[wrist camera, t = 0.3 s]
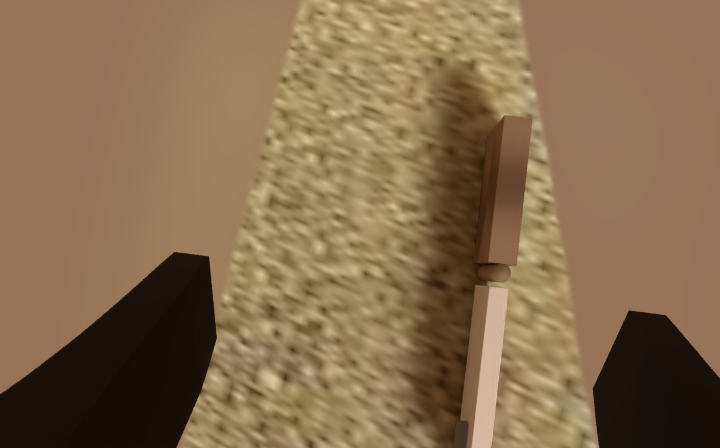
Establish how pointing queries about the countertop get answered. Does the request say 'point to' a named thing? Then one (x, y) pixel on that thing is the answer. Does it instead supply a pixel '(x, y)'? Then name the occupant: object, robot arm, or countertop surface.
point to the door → (482, 368)
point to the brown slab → (502, 198)
